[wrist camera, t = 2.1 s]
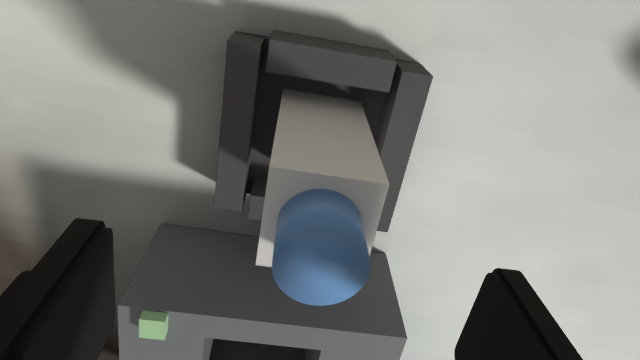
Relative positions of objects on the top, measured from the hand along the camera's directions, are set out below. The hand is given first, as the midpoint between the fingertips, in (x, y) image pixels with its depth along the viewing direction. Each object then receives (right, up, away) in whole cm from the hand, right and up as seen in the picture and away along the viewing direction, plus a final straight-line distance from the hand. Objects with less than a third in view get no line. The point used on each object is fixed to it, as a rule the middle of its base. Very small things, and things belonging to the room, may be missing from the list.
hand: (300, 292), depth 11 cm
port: (-3, -5, +15) cm, 16 cm away
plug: (0, +5, +9) cm, 11 cm away
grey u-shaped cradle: (0, +5, +10) cm, 11 cm away
